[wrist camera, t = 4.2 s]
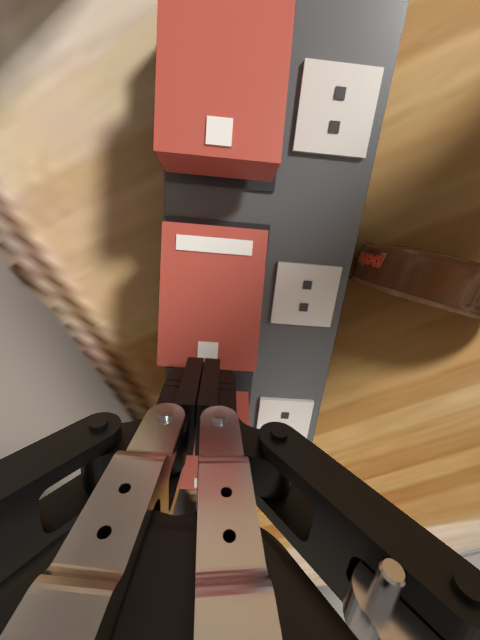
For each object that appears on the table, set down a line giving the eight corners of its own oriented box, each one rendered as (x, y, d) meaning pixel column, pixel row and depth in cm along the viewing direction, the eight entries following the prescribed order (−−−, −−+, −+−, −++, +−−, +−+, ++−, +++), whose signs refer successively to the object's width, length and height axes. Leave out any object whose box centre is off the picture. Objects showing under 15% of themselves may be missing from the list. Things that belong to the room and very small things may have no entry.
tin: (330, 272, 22) (386, 308, 14) (346, 229, 21) (417, 242, 13) (505, 319, 24) (642, 376, 16) (528, 282, 23) (688, 322, 15)
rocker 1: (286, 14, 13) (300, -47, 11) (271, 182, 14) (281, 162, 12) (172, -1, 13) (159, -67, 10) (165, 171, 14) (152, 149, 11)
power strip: (370, 46, 17) (418, -10, 13) (296, 432, 27) (308, 475, 23) (178, 22, 16) (159, -46, 12) (174, 426, 26) (163, 469, 22)
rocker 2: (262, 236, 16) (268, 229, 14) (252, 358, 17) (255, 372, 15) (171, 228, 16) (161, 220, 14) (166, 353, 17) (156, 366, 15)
